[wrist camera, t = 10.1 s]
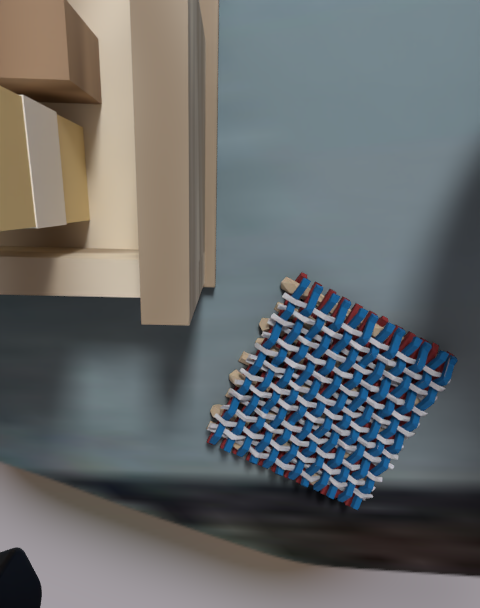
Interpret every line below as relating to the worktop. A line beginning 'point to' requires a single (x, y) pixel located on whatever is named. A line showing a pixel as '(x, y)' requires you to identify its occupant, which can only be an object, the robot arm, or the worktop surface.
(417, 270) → the worktop surface
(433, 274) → the worktop surface
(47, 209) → the tea box
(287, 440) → the woven mat
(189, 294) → the wooden blocks on plank
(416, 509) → the worktop surface
